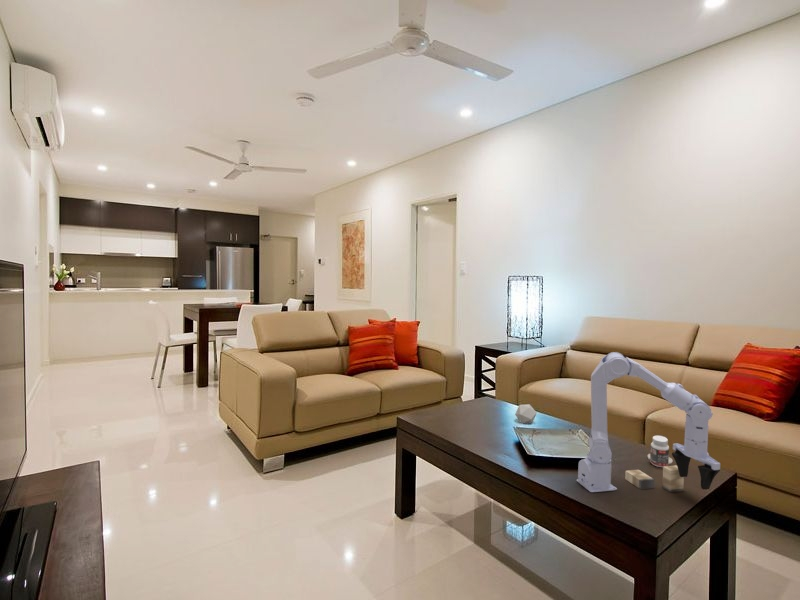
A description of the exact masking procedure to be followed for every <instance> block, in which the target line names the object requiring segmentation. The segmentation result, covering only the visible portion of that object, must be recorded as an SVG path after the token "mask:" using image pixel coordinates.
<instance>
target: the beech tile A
mask: <svg viewBox="0 0 800 600" xmlns="http://www.w3.org/2000/svg"><path fill="white" fill-rule="evenodd" d="M624 473H625V475H624V477H625V478H624V479H625V481H628V482H629V483H631V484H632V485H634V486H635V487H636V488H638V489H639V490H647V489H648V490H649V489H655V478H653V477H651V476H649V474H647V473H645V472H643V471H642V470H640V469H630V470H629V469H628V470H625V472H624Z"/></svg>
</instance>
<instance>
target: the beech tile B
mask: <svg viewBox="0 0 800 600" xmlns="http://www.w3.org/2000/svg"><path fill="white" fill-rule="evenodd" d="M661 483H662V487H661V488H663V489H664V490H666V491H667V492H669V493H674V492H683V491H684V485H685V484H684V483H685V477H680V475H679V471H678V467H677V464H675V465H668V466H663V467H662V482H661Z"/></svg>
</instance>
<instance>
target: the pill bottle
mask: <svg viewBox="0 0 800 600" xmlns="http://www.w3.org/2000/svg"><path fill="white" fill-rule="evenodd" d="M668 443H669V440H668V438H667V437H666V436H663V435H654V436H652V442H651V443H650V453H649V454H650V459H649V461H650V463H651V464H652V465H653V466H655V467H658V468H663V466H669V464H668V462H669V457H670V446H669V444H668Z"/></svg>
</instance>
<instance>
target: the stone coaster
mask: <svg viewBox="0 0 800 600" xmlns="http://www.w3.org/2000/svg"><path fill="white" fill-rule="evenodd" d="M647 458H648V460H650V453H648V454H647ZM670 464H673V458H672V457H670V456H669V462H668V465H670Z"/></svg>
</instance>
